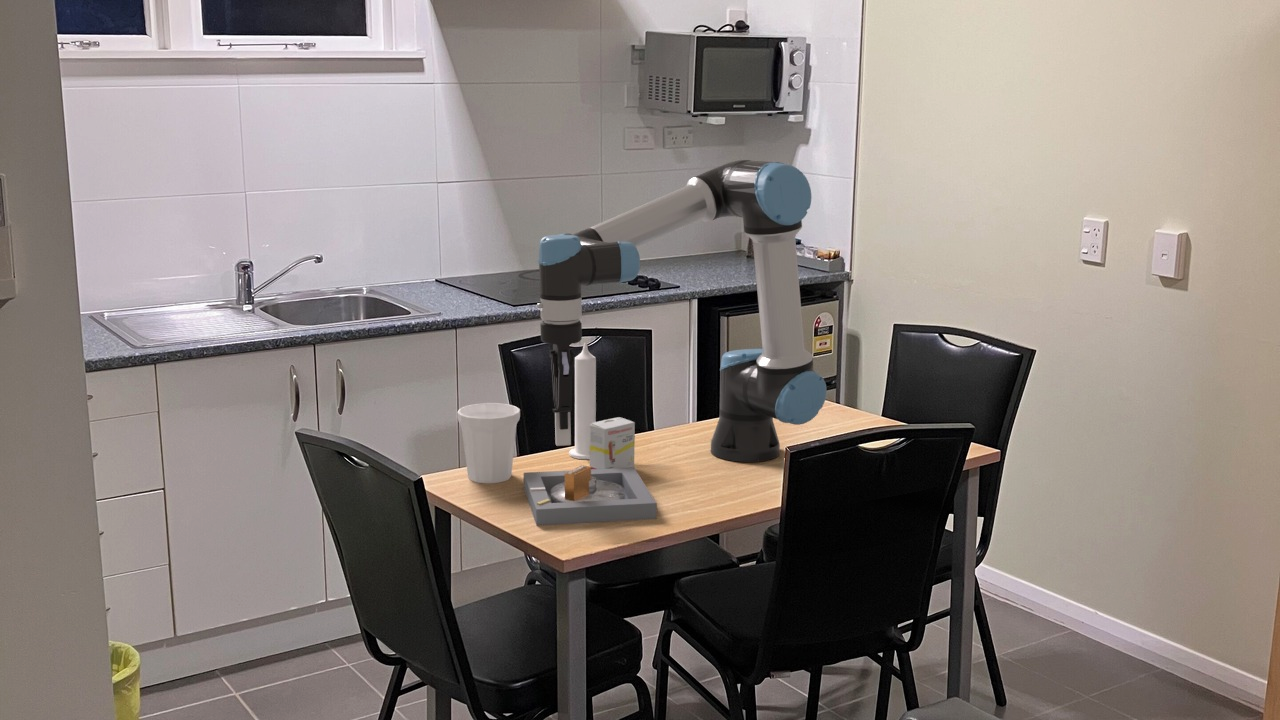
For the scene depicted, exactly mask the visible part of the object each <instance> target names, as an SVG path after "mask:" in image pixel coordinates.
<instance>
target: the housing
mask: <svg viewBox="0 0 1280 720" xmlns="http://www.w3.org/2000/svg"><path fill="white" fill-rule="evenodd" d="M571 470H572V469H570V470H556V471H555V470H553V471H552V470H551V471H550V470H549V471H534V472H523V490H524V492H525V495H526V499H527V500H528V501H527V503H528V505H529V507H530V511H531V513H532V516H533V519H534V521H535V526H552V525H555V526H556V525H568V524H569V525H571V524H572V525H573V524H587V523H588V524H589V523H590V524H591V523H607V522H622V521H623V522H625V521H626V522H628V521H639V520H640V521H641V520H642V521H643V520H657V516H658V515H657V512H658V511H657V509H658V505H657V501H656V499H655V498H654V497H653V495H652V493H651V492H650V490H649V489H648V487H647V485H646V484H645V483H644V482H645V481H643V479H642V478H641V476H640V474H639V473H638V471H637V470H636V468H635V466H634V467H632V468H611V469H591V476H592V477H595V478H596V480H603V481H609V482H613V483H616V484H618V485H620V486H622V487H623V488H624V490H625V499H620V500H601V501H582V502H563V503H551V489H552V488H553V487H554V486H556V485H558V484H560V483H563V482H565V473H567V472H569V471H571Z"/></svg>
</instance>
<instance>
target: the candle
mask: <svg viewBox="0 0 1280 720" xmlns="http://www.w3.org/2000/svg"><path fill="white" fill-rule="evenodd" d="M596 381H597V359H596V356H594V355H593V354H592V353H591V352H590V351H589V348H588V344H587V342H584V343H583V347H582V350H581V351H580V353H578V355H576V356H575V357H574V448H571V449H570V450H569V451H568V455H569V456H570V457H571V458H573V459H577V460H590V425H591V424H592V423H594V422H597V421H596V420H597V418H596V417H597V416H596V412H597V402H596V400H597V397H596V396H597V393H596V392H597V391H596V390H597V386H596V385H597V382H596Z"/></svg>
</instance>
